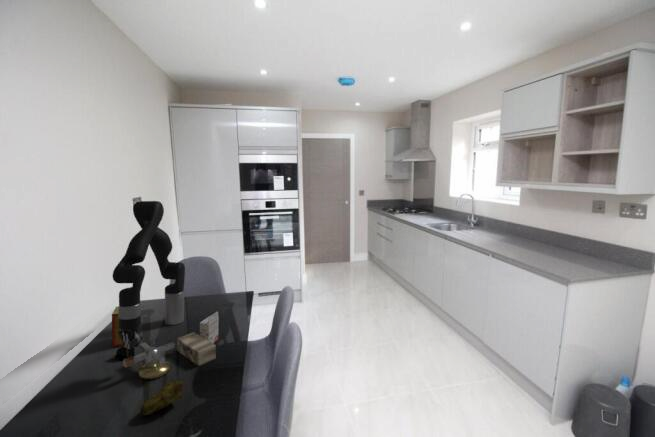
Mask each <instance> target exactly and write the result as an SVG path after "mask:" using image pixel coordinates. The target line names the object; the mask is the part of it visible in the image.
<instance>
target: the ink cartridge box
mask: <svg viewBox="0 0 655 437" xmlns="http://www.w3.org/2000/svg"><path fill="white" fill-rule="evenodd" d="M199 335H200V336H201V337H203V338H205V339H206V340H208V341H209V342H211V343H213V344H215V342H217V341H218V340H219V312H218V310H217V311H216V312H214V313H213V314H211V315H209V316H207V317H206V318H205V319H203V320H202V321H201V322H199Z"/></svg>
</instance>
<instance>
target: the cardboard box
mask: <svg viewBox="0 0 655 437" xmlns="http://www.w3.org/2000/svg"><path fill="white" fill-rule="evenodd" d="M176 343H177V344H176V346H177V350H176V351H177V352H178V353H180V354H181V355H183V356H184V357H185V358H187V359H188V360H190V361H191V362H192V363H194V364H195V365H197V366H198V367H200V366H203V365H204V364H206V363H209V362H211V361H213V360H216V359H217V358H216V357H217V354H216V352H217V351H216V350H217V345H216V344H215V343H211V342H209V341H208V340H206V339H205V338H203V337H201V336H200V334H198V333H196V332H195V331H193V332H190V333H189V334H185V335H182V336H180V337H177V341H176Z"/></svg>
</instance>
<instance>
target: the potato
mask: <svg viewBox="0 0 655 437" xmlns="http://www.w3.org/2000/svg"><path fill="white" fill-rule="evenodd" d="M184 384H185V383H183V381H180V380H171V381H169V382H168V383H166V384H165V385H163V386H162V387H161V388H160V389H158V391H157V392H156V393H154V394H153V395H152V396H150V397H149V398H148V399H146V400H145V401H144V402H143V403H142V404H141V406H140V414H141V415H142V416H150V415H152V414H153V413H154V412H158V411H160V410H162V409H164V408H166V407H167V406H169V405H170V404H172V403H173V402H174V401H176V400H177V399H180V398H182V397H183V393H184V390H185V386H184Z"/></svg>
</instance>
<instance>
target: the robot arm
mask: <svg viewBox="0 0 655 437" xmlns="http://www.w3.org/2000/svg"><path fill="white" fill-rule="evenodd" d="M164 211H165V210H164V205H163V203H162V202H161V201H157V200H141V201H136V202H135V203H134V204H133V206H132V213H133V216H134V219H135V220H136V222H137V223H138V225H139V226H140V229H141V230H139V231H138V232H137V233H136V234H134V236H133V237H132V238H131V240H130V241H129V243H128V246H127V249H126V252H125V254H124V255H123V256H122V258H121V260H120V261H119V262H118V263H117V264H116V266H115V268H114V269H113V271H112V280H113V281H114V283H116V284H132V286H131V287H126V288H123V289H121V290H120V291H119V292H118V306H119V310H118V319H119V328H120V329H122V330H121V331H119V335H120V338H121V340H122V343H123V345H124V347H125V348H127V357H131V356H134V355H135V348H137V347H139V346H140V344H141V343H142V340H143V336H140V335H139V328H140V326H141V324H142V305H141V290H142V285H143V283H144V280H145V276H146V269H145V268H144V266H143V265H140V264H141V263H143V262H144V260H145V258H146V256H147V253H148V250H149V246H150V248H151V250H152V252H153V255H154V256H155V259H156V263H157V265H158V268H159V272H160V274H161V277H162V278H163V279H164V280H171V281H173V280H174V283H170V284H167V285H166V286H165V287H164V324H166V325H167V326H174V325H175V326H176V325H178V324H181V323H183V322H184V320H185V318H184V317H185V316H184V314H185V313H184V312H185V311H184V301H185V298H184V296H185V295H184V294H185V293H184V291H185V288H184V287H185V276H186V274H185V273H186V266H185V263H183V262H179V261H178V262H176V261H175V262H174V261H172V262H171V261H169V258H168V257H169V256H170V254H171V252H172V250H173V243H172V240H171V238H170V236H169V234H168V233H167V232H166V231H165V230H163V229H162V228H160V227H159V225H160V224H161V221H162V220H163V216H164V213H165V212H164Z"/></svg>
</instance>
